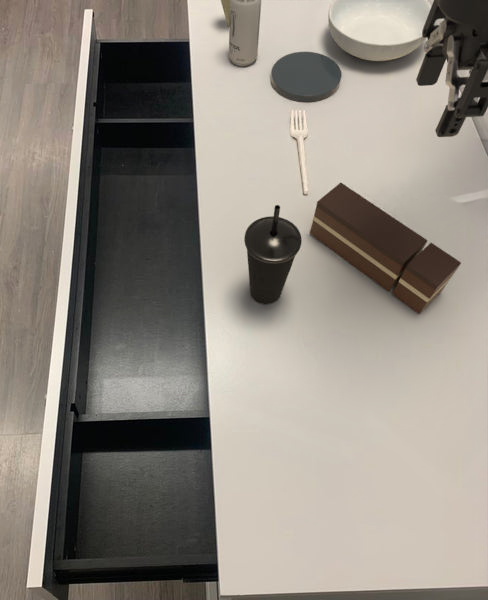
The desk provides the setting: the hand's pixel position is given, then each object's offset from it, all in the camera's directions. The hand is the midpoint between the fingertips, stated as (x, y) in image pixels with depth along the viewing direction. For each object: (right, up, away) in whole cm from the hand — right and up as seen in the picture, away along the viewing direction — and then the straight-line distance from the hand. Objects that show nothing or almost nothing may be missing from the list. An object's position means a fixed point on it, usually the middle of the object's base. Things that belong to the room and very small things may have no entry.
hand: (434, 108), depth 60 cm
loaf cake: (0, -14, +26) cm, 30 cm away
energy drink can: (-16, +30, +53) cm, 63 cm away
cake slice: (+7, -21, +22) cm, 31 cm away
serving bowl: (+12, +33, +54) cm, 64 cm away
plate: (-4, +23, +49) cm, 54 cm away
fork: (-7, +5, +38) cm, 39 cm away
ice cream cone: (-19, +40, +59) cm, 74 cm away
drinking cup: (-16, -20, +23) cm, 35 cm away
